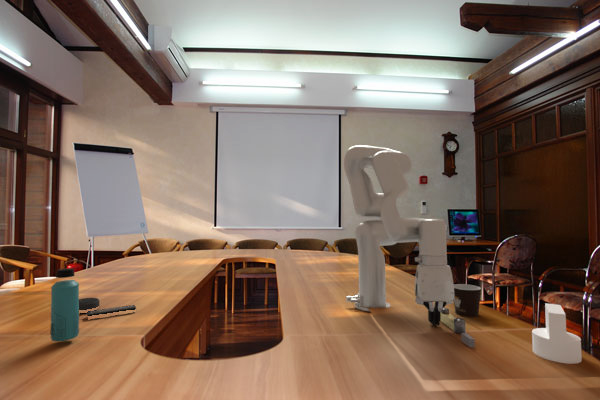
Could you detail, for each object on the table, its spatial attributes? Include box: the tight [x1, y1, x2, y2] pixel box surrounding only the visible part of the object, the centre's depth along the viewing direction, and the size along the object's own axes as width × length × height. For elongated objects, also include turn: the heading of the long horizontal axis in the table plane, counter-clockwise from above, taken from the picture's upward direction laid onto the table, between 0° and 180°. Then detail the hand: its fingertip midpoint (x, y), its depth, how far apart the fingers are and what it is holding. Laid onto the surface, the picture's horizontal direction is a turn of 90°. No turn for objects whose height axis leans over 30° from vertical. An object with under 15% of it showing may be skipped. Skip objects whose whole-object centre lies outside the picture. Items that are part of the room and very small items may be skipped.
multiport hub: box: [86, 304, 137, 317], centre depth 115 cm, size 4×14×2 cm, turn 124°
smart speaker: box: [79, 297, 100, 310], centre depth 120 cm, size 9×9×4 cm
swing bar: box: [440, 307, 466, 335], centre depth 96 cm, size 12×3×4 cm, turn 1°
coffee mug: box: [453, 283, 482, 318], centre depth 110 cm, size 12×9×10 cm
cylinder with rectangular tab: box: [531, 302, 582, 365], centre depth 77 cm, size 9×9×12 cm
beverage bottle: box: [49, 267, 81, 342], centre depth 91 cm, size 6×7×20 cm
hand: (434, 323), depth 97 cm, fingers closed
